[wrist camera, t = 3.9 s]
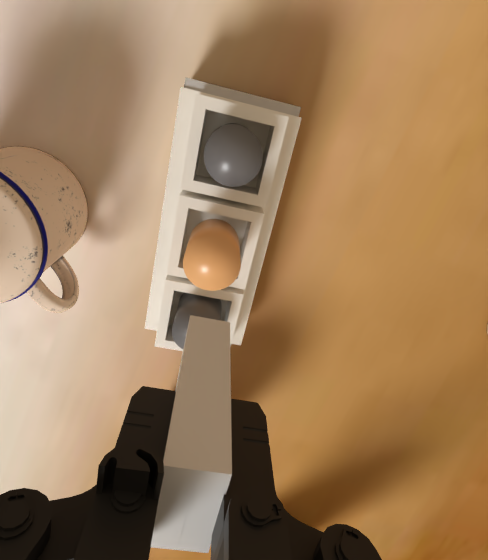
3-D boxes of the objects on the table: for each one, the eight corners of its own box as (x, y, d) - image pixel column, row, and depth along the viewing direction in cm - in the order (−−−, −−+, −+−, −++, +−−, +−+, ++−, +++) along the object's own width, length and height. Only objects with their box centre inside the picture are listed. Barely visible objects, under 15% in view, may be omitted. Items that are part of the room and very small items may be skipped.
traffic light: (145, 354, 36) (130, 397, 31) (187, 80, 27) (177, 72, 22) (228, 368, 37) (228, 412, 32) (295, 108, 28) (312, 107, 23)
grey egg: (202, 170, 26) (198, 179, 23) (212, 117, 25) (210, 118, 21) (251, 181, 27) (255, 192, 23) (263, 130, 25) (269, 133, 22)
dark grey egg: (175, 320, 31) (168, 348, 27) (182, 282, 30) (175, 307, 26) (217, 327, 31) (215, 356, 28) (225, 290, 30) (225, 316, 26)
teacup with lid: (-55, 182, 29) (-215, 222, 19) (38, 118, 28) (-79, 122, 17) (51, 302, 34) (-29, 390, 23) (137, 253, 32) (92, 323, 22)
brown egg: (185, 260, 27) (178, 284, 23) (193, 214, 25) (188, 231, 22) (233, 270, 27) (234, 295, 24) (244, 224, 26) (246, 243, 22)
